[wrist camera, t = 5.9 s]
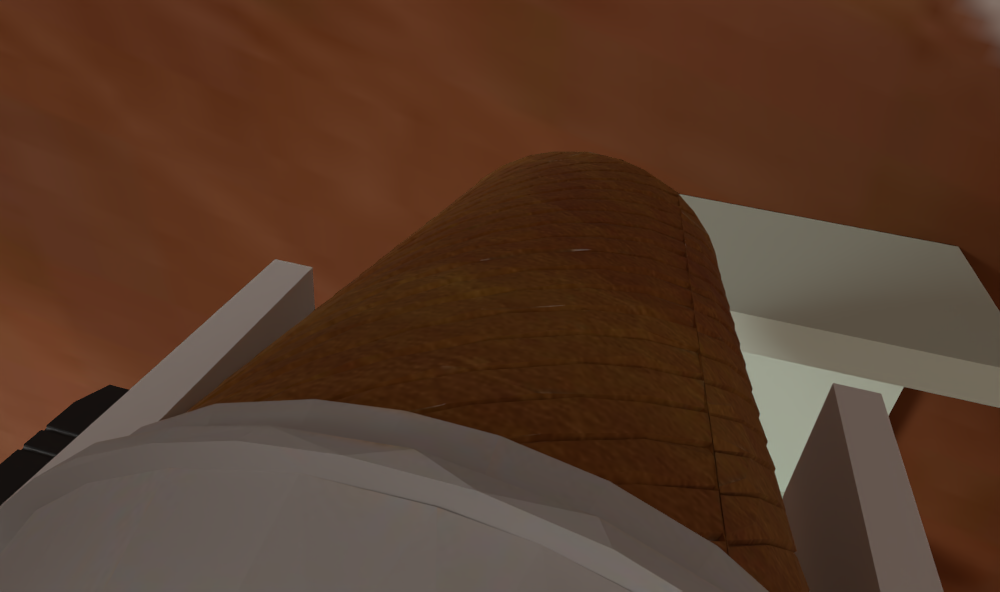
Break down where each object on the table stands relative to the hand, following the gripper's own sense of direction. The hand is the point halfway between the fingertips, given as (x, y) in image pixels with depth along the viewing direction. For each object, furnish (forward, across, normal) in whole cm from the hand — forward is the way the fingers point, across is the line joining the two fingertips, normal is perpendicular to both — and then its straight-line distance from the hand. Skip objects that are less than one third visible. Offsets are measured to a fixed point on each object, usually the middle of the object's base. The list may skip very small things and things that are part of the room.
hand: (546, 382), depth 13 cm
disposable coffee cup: (+4, 0, 0) cm, 4 cm away
